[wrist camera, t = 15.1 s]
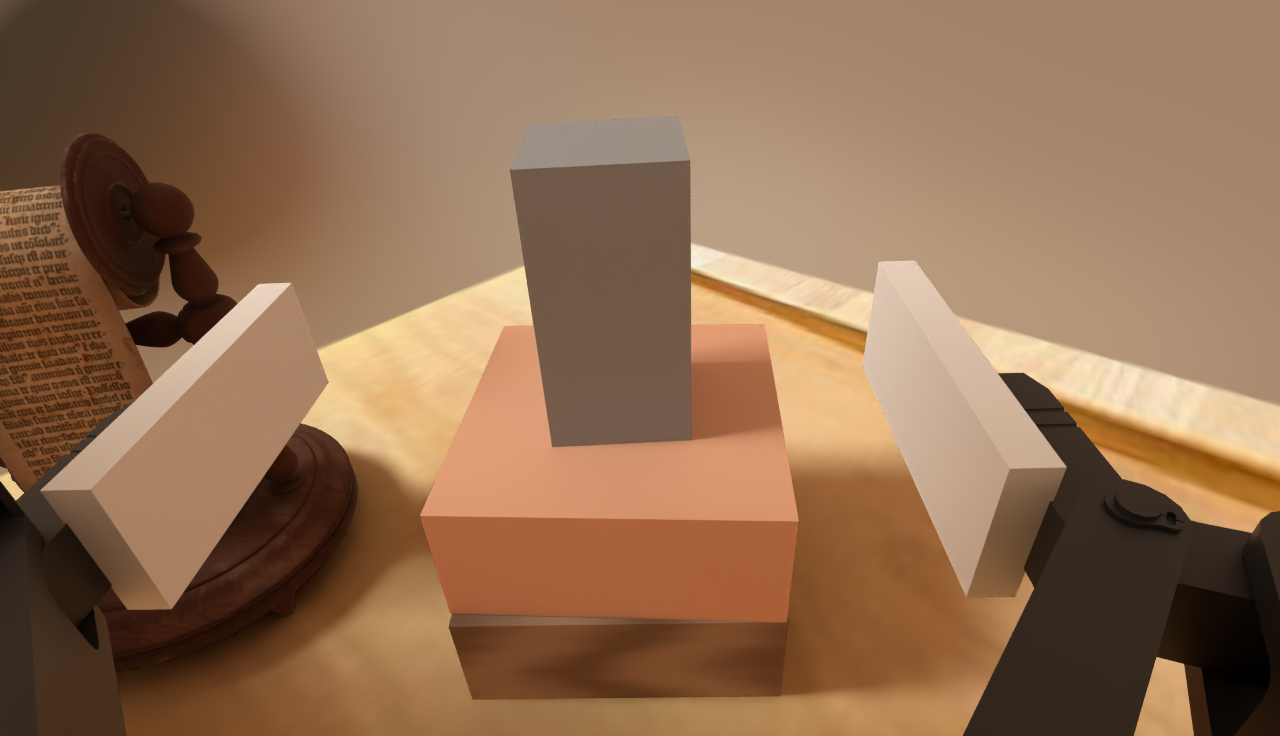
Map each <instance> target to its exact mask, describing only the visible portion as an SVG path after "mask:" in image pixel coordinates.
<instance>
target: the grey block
mask: <svg viewBox="0 0 1280 736" xmlns="http://www.w3.org/2000/svg"><path fill="white" fill-rule="evenodd" d="M510 173H511V180H512V186H513V193H514V199H515V206H516V213H517V219H518V226H519V232H520V239H521V245H522V252H523V259H524V265H525V272H526V279H527V285H528V292H529V298H530V305H531V312H532V318H533V325H534V331H535V338H536V344H537V351H538V358H539V364H540V371H541V377H542V384H543V390H544V397H545V404H546V410H547V417H548V423H549V430H550V436H551V443H552V447H560V446H580V445H600V444H620V443H640V442H660V441H680V440H692V423H691V237H690V236H691V234H690V233H691V230H690V228H691V227H690V158H689V154H688V151H687V147H686V144H685V140H684V137H683V133H682V130H681V126H680V123H679V119H678V116H670V117H650V118H632V119H613V120H595V121H575V122H557V123H538V124H530V125H529V127H528V130H527V132H526V135H525V136H524V139H523V141H522V143H521V146H520V148H519V150H518V153H517V155H516V157H515V159H514V162H513V164H512V166H511V169H510Z"/></svg>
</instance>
